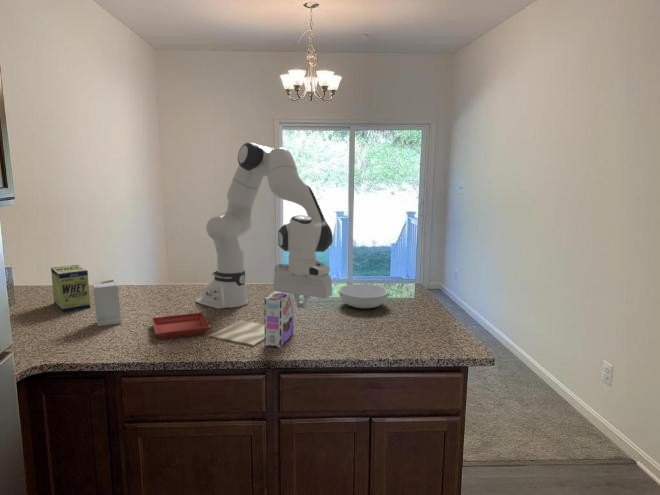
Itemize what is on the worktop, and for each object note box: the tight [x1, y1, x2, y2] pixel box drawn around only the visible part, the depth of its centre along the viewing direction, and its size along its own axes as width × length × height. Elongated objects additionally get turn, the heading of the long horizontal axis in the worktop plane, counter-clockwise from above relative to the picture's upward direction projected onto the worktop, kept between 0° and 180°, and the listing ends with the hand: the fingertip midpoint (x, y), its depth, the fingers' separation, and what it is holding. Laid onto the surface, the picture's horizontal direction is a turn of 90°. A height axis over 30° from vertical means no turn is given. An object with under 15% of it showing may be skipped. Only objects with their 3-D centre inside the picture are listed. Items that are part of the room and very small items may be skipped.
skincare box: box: [92, 281, 122, 327], centre depth 172 cm, size 8×6×15 cm
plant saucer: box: [151, 312, 211, 340], centre depth 168 cm, size 18×18×3 cm
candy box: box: [264, 290, 294, 349], centre depth 158 cm, size 14×6×16 cm, turn 167°
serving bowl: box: [338, 283, 389, 310], centre depth 200 cm, size 21×21×7 cm
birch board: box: [209, 319, 265, 347], centre depth 165 cm, size 18×18×1 cm
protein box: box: [50, 264, 91, 313], centre depth 192 cm, size 10×16×16 cm
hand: (301, 307), depth 154 cm, fingers closed
